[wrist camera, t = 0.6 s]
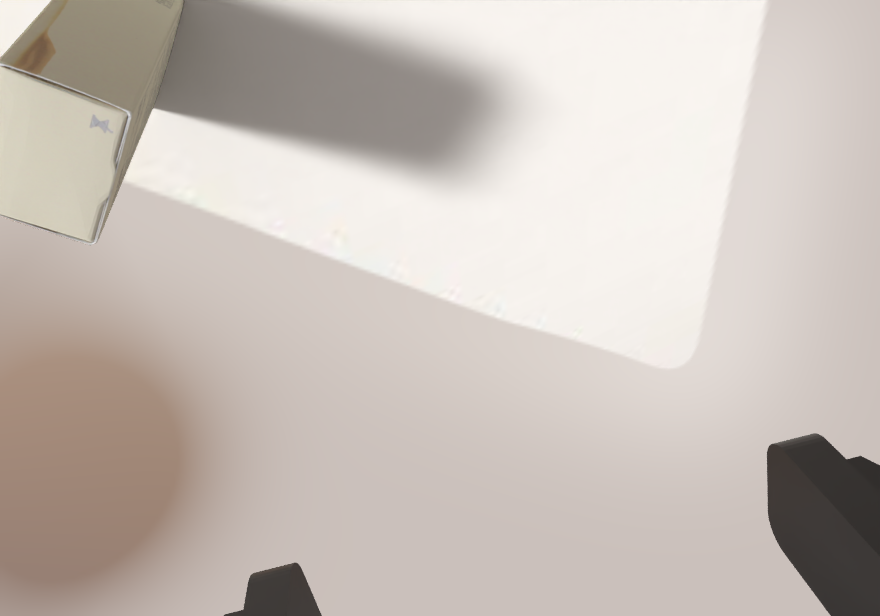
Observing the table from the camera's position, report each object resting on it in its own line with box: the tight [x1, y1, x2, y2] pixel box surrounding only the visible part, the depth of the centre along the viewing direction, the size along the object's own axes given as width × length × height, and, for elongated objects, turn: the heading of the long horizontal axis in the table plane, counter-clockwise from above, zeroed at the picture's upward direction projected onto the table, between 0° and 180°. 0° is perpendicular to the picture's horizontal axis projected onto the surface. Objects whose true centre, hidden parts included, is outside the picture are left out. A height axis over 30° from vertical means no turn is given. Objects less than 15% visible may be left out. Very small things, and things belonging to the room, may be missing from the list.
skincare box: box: [0, 0, 184, 245], centre depth 29 cm, size 6×4×12 cm
